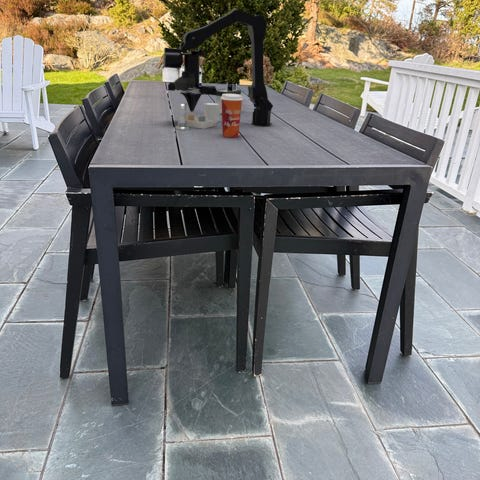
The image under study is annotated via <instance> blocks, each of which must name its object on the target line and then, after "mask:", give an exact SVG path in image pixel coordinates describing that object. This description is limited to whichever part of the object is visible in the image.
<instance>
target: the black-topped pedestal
mask: <svg viewBox="0 0 480 480" xmlns="http://www.w3.org/2000/svg"><path fill="white" fill-rule="evenodd" d="M237 86H238V85H237V82H236V83H235V82H234V83H233V82H228V81H227V82H226V88H221V89H216V94H211V95H210V96H215V103H217V104H220V112H219V115H222V99H221V97H222V94H239V95H242V90H240V89H239V90H238V89H237V88H238V87H237Z"/></svg>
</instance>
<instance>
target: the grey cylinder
mask: <svg viewBox="0 0 480 480" xmlns="http://www.w3.org/2000/svg"><path fill="white" fill-rule="evenodd" d="M219 112H220V104H217V103H216V102H204V103H203V115H204V116H205V119H207V120H214V121H215V124H217V123H219V121H220V120H219V118H220V114H219Z"/></svg>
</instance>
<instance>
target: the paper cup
mask: <svg viewBox="0 0 480 480" xmlns="http://www.w3.org/2000/svg"><path fill="white" fill-rule="evenodd" d="M221 99H222V114H221V123H222V124H221V126H222V128H221V129H222V130H221V131H222V136H223V137H224V138H231V137H233V138H238V137H239V132H240V123H241V114H242V113H241V112H242V105H243V100H244V98H243V96H242V94H241V95H239V94H222V97H221Z"/></svg>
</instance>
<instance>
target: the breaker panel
mask: <svg viewBox="0 0 480 480" xmlns="http://www.w3.org/2000/svg"><path fill="white" fill-rule="evenodd" d="M187 126H189V128H197V129H202V130H205V129H208V128H211V127H216V123H215V121H214V120H207V119H205V116H203V115H201V116H198V118H197V117H195V114H188V115H187Z"/></svg>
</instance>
